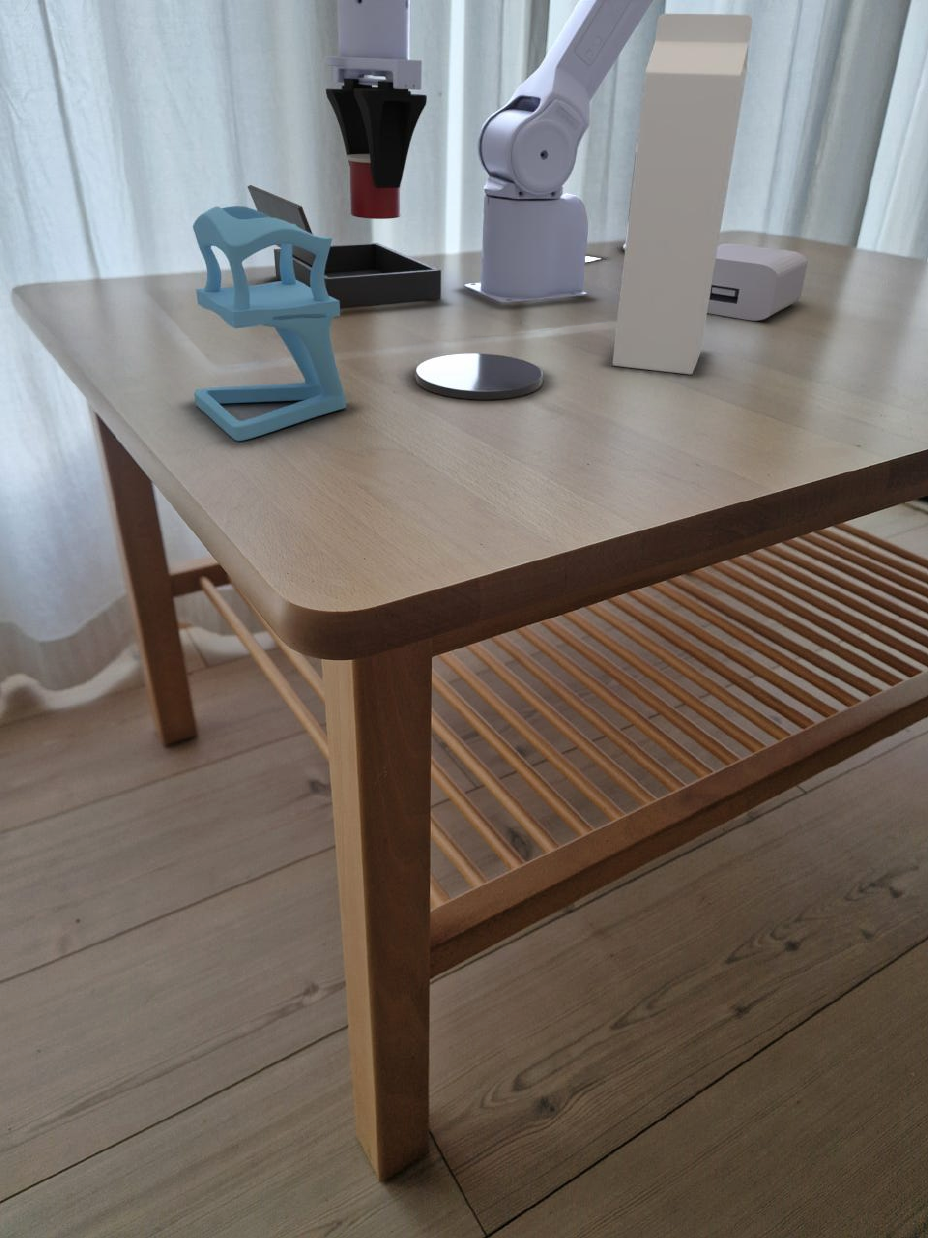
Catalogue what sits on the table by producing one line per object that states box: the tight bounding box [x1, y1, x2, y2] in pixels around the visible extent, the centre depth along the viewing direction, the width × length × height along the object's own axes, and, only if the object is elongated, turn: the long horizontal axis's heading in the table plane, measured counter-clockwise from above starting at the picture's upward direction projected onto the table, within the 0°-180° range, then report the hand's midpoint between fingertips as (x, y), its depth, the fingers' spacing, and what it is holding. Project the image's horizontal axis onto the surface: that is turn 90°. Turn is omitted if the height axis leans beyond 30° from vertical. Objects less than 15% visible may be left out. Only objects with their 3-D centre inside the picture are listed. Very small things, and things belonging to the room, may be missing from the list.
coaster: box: [415, 353, 544, 401], centre depth 63 cm, size 9×9×1 cm
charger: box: [707, 242, 809, 322], centre depth 85 cm, size 5×9×15 cm
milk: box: [612, 13, 753, 375], centre depth 63 cm, size 6×6×22 cm
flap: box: [247, 184, 327, 271], centre depth 80 cm, size 5×15×1 cm
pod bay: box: [273, 242, 442, 310], centre depth 85 cm, size 11×15×3 cm
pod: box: [345, 154, 402, 220], centre depth 77 cm, size 5×5×5 cm
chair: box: [192, 205, 347, 442], centre depth 53 cm, size 8×8×12 cm
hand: (375, 183), depth 77 cm, fingers closed on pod, 5 cm apart
